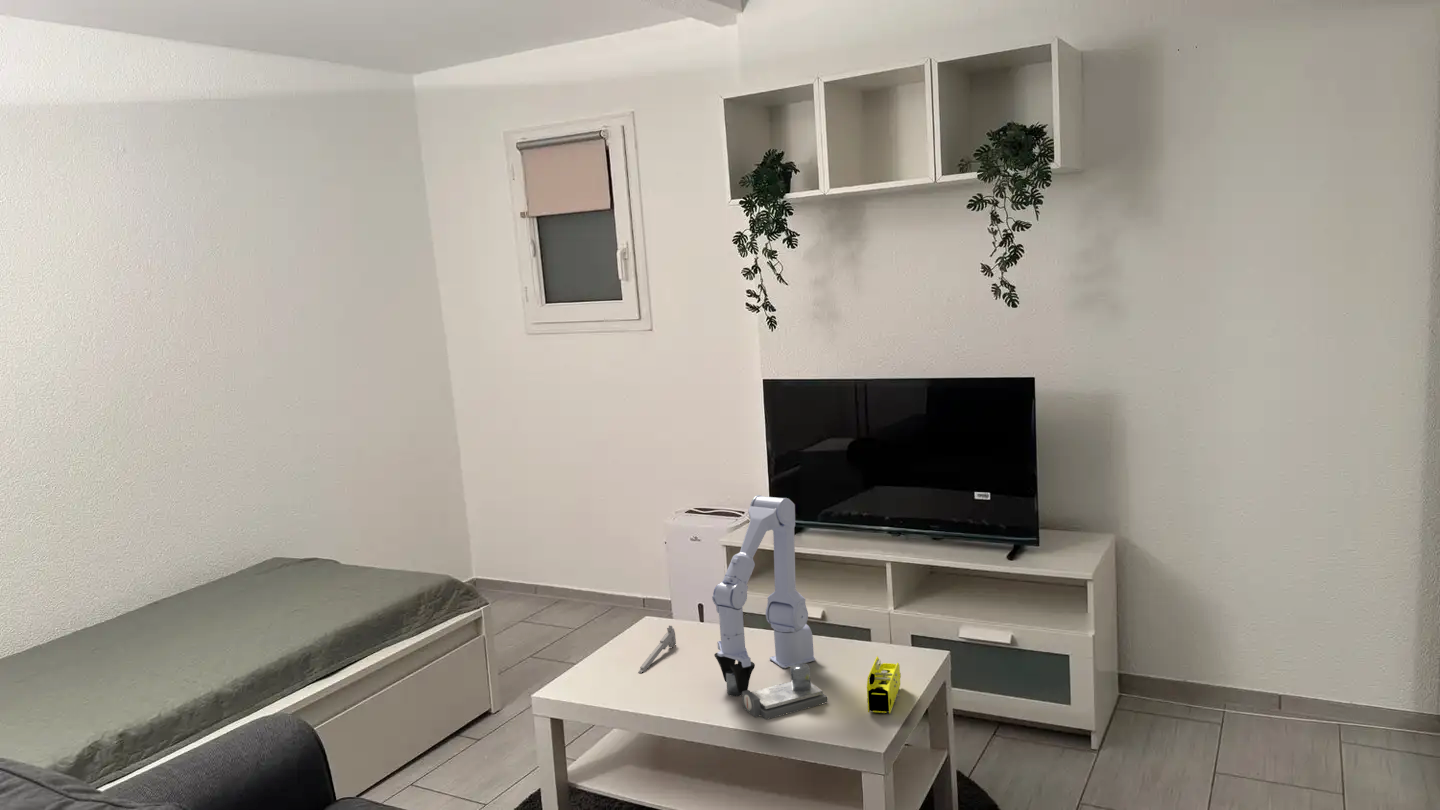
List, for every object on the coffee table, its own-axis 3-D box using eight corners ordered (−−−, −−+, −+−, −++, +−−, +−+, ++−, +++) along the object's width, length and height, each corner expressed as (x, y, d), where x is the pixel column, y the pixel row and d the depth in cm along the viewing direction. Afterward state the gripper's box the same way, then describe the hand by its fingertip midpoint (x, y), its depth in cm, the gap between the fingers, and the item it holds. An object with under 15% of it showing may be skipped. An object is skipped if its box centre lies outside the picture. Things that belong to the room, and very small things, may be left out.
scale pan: (804, 681, 250) (803, 678, 250) (823, 694, 242) (822, 690, 242) (747, 695, 244) (747, 692, 244) (765, 709, 236) (765, 706, 236)
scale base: (804, 686, 251) (803, 670, 251) (827, 702, 241) (826, 685, 241) (737, 704, 244) (736, 687, 244) (758, 721, 234) (757, 703, 234)
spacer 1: (741, 687, 254) (739, 667, 253) (749, 693, 250) (747, 673, 249) (724, 691, 252) (722, 671, 252) (732, 697, 248) (730, 677, 248)
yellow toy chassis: (877, 686, 249) (876, 653, 248) (901, 688, 247) (900, 654, 246) (866, 715, 234) (864, 679, 233) (891, 717, 232) (889, 681, 231)
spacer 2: (805, 681, 247) (803, 661, 247) (814, 688, 243) (812, 667, 243) (788, 686, 246) (786, 666, 245) (797, 692, 242) (795, 672, 241)
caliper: (672, 645, 286) (670, 623, 285) (676, 646, 286) (674, 623, 285) (638, 674, 268) (636, 650, 267) (642, 674, 267) (639, 651, 266)
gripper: (704, 626, 254) (708, 680, 256) (729, 644, 241) (734, 700, 243) (730, 620, 257) (734, 673, 259) (757, 638, 244) (761, 693, 246)
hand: (736, 686), depth 251 cm, fingers open, 7 cm apart
